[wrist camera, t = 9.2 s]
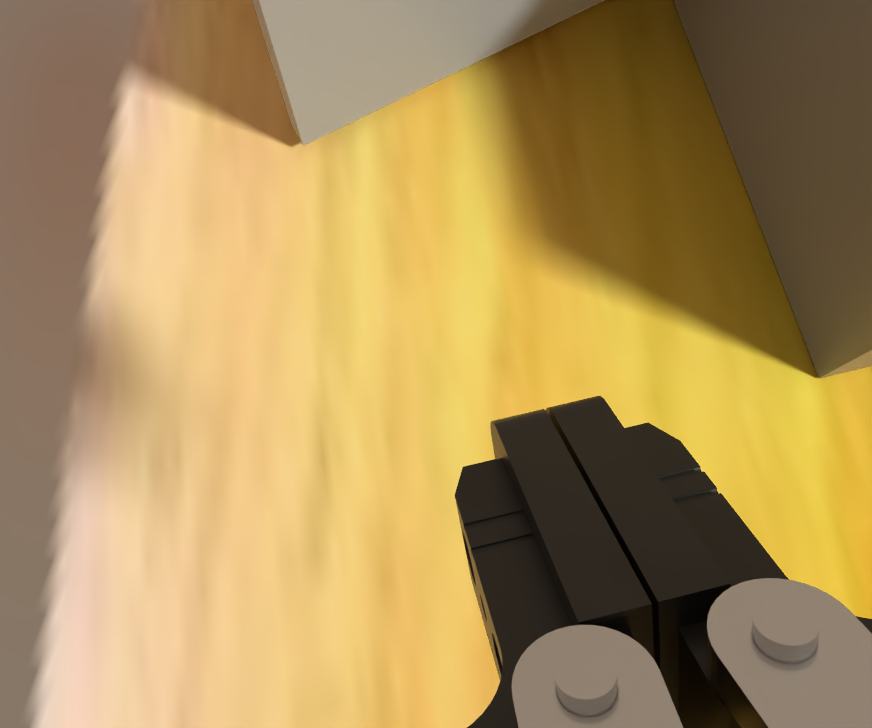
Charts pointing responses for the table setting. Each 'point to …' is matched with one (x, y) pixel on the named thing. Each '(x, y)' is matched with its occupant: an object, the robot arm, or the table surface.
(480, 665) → the table surface
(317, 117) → the door
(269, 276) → the table surface
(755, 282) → the table surface
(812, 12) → the block
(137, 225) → the table surface
